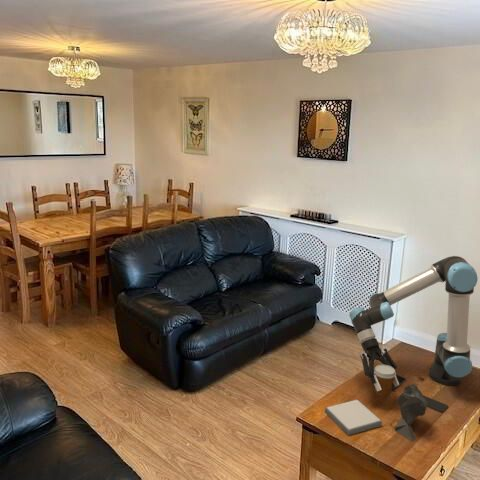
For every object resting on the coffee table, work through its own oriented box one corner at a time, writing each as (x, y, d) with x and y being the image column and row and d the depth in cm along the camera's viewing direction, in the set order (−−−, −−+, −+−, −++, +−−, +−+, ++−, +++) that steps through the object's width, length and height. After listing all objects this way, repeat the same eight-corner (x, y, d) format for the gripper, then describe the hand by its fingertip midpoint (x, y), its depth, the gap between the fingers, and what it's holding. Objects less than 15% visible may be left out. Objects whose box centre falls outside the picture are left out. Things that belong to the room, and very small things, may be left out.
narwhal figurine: (434, 428, 197) (439, 389, 193) (412, 441, 189) (417, 401, 184) (405, 410, 209) (409, 374, 204) (382, 423, 200) (387, 385, 195)
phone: (416, 392, 223) (448, 405, 213) (416, 393, 223) (448, 407, 213) (409, 398, 217) (442, 412, 207) (409, 400, 218) (442, 414, 208)
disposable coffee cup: (395, 400, 208) (397, 375, 205) (372, 398, 210) (374, 373, 207) (392, 388, 217) (394, 365, 214) (371, 386, 219) (372, 363, 216)
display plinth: (356, 403, 213) (357, 398, 212) (381, 425, 198) (382, 420, 197) (324, 412, 206) (325, 407, 206) (348, 435, 191) (348, 430, 191)
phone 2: (377, 383, 229) (392, 372, 239) (376, 385, 229) (392, 374, 239) (392, 390, 223) (407, 378, 233) (391, 392, 224) (406, 380, 234)
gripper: (382, 339, 227) (403, 385, 217) (344, 347, 218) (364, 395, 208) (391, 333, 221) (412, 380, 211) (352, 341, 212) (372, 391, 202)
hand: (388, 388), depth 209 cm, fingers closed on disposable coffee cup, 9 cm apart
